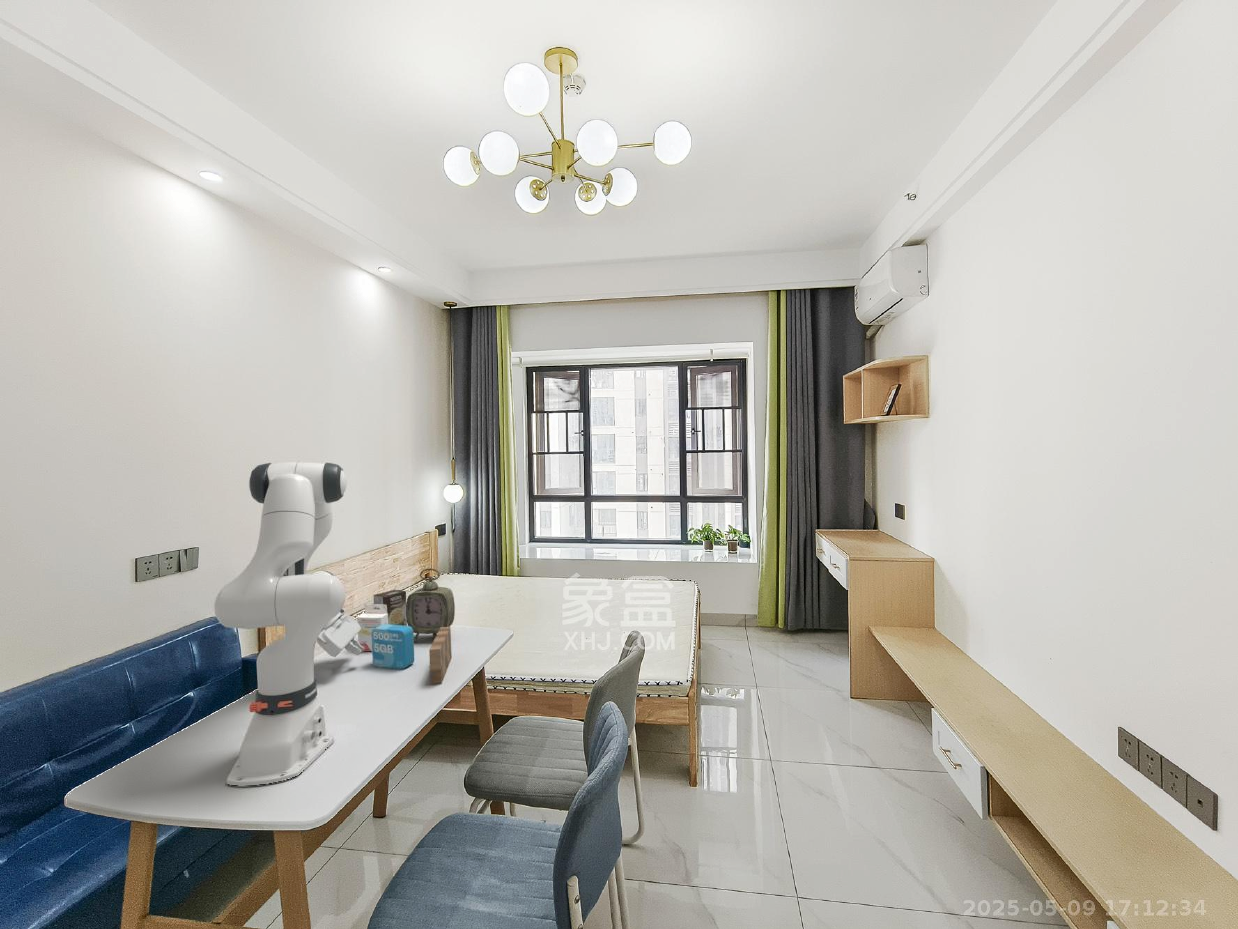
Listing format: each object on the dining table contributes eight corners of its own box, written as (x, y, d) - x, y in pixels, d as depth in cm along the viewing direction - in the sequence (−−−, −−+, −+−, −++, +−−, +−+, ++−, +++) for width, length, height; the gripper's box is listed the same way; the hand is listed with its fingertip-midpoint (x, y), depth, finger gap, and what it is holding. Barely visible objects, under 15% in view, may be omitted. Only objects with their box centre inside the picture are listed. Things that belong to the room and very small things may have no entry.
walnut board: (441, 683, 164) (440, 649, 163) (430, 684, 163) (429, 649, 163) (451, 657, 184) (450, 626, 183) (441, 658, 183) (440, 627, 183)
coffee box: (386, 643, 199) (384, 597, 198) (374, 640, 202) (372, 595, 201) (408, 635, 207) (406, 590, 206) (396, 632, 210) (394, 588, 209)
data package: (372, 666, 178) (370, 628, 178) (382, 661, 182) (380, 623, 182) (405, 669, 175) (404, 630, 174) (415, 664, 179) (413, 626, 179)
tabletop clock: (407, 644, 197) (404, 571, 196) (417, 635, 206) (414, 565, 205) (449, 643, 197) (446, 570, 196) (457, 634, 206) (454, 565, 205)
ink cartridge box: (357, 652, 191) (355, 608, 190) (365, 646, 196) (363, 603, 195) (382, 652, 190) (380, 608, 189) (390, 647, 195) (388, 603, 194)
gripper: (320, 625, 165) (358, 656, 167) (343, 606, 185) (377, 633, 187) (304, 642, 165) (342, 673, 167) (329, 620, 185) (363, 648, 187)
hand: (361, 652), depth 177 cm, fingers closed
